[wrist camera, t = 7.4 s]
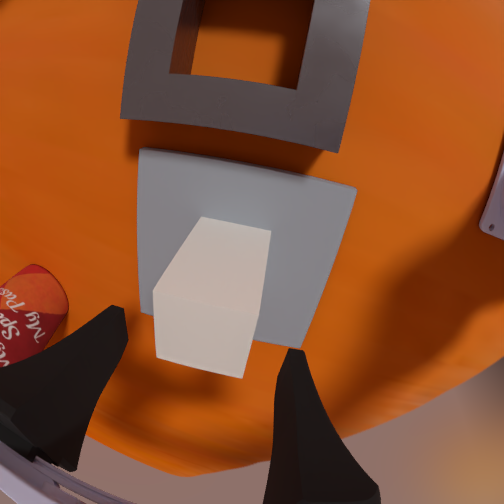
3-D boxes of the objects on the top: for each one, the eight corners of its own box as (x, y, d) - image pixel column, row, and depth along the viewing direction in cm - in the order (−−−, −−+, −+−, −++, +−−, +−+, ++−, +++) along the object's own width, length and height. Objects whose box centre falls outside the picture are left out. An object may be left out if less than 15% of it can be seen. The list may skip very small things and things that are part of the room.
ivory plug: (271, 230, 17) (259, 314, 11) (258, 288, 19) (242, 378, 13) (201, 216, 17) (152, 290, 11) (195, 274, 19) (156, 357, 13)
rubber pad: (355, 187, 15) (357, 190, 15) (299, 342, 21) (299, 348, 21) (144, 146, 16) (139, 148, 15) (144, 307, 22) (141, 312, 21)
